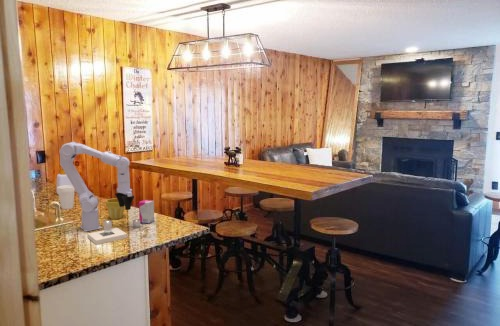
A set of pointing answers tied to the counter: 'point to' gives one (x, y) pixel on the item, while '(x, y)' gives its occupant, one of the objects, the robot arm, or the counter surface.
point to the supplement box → (146, 211)
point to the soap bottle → (62, 179)
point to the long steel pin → (107, 227)
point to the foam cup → (66, 196)
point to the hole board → (100, 238)
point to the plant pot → (114, 208)
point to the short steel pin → (136, 223)
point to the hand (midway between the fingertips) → (124, 208)
